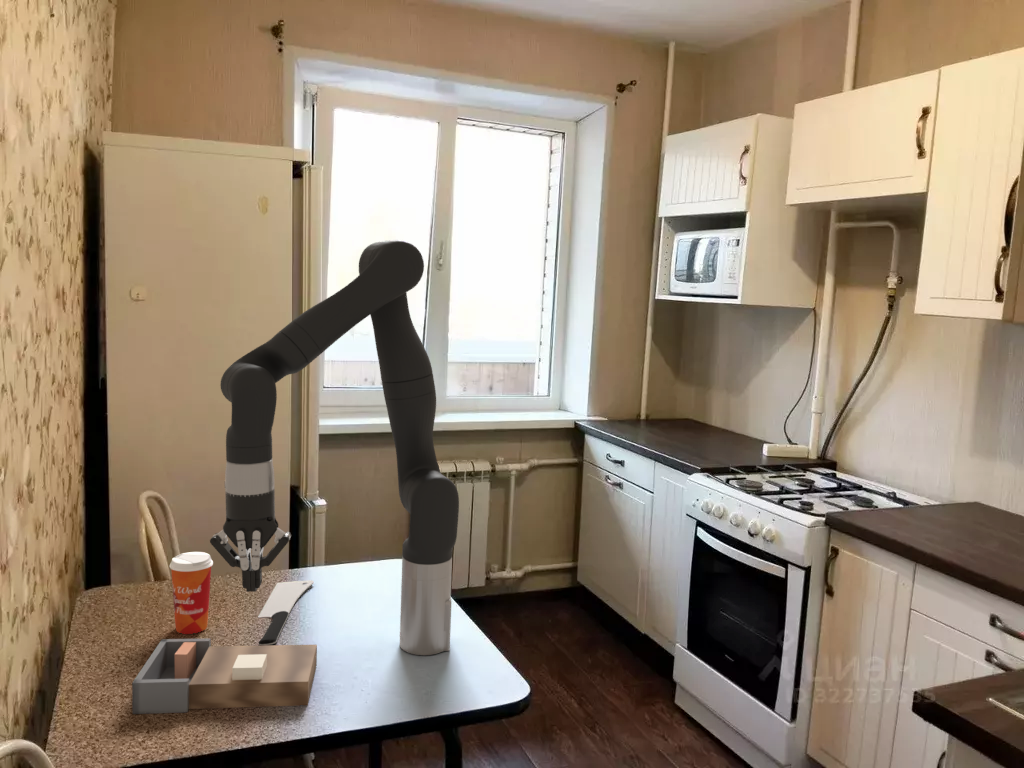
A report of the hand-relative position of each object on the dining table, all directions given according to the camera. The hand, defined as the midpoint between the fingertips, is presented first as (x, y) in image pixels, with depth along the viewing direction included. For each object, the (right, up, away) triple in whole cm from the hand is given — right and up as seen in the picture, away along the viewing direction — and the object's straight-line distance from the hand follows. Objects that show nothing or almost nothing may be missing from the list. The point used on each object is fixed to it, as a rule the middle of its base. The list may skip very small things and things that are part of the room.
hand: (252, 589), depth 128 cm
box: (-13, -16, -1) cm, 20 cm away
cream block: (0, -13, -2) cm, 13 cm away
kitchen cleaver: (-6, -13, +31) cm, 34 cm away
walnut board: (0, -16, +1) cm, 16 cm away
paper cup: (-19, -13, +22) cm, 31 cm away
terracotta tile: (-11, -13, +3) cm, 17 cm away
